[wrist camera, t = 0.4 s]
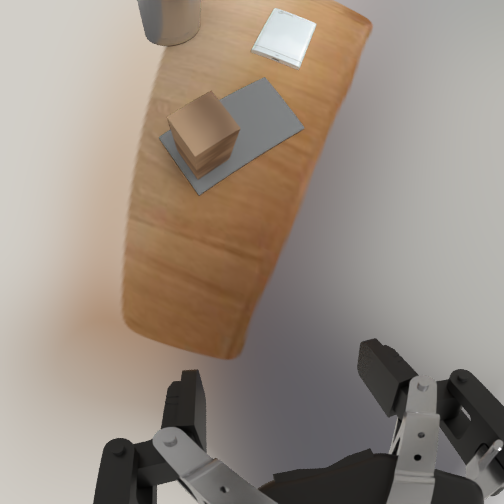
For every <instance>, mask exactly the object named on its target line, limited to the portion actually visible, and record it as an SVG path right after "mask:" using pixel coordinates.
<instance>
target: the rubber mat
mask: <svg viewBox="0 0 504 504" xmlns="http://www.w3.org/2000/svg"><path fill="white" fill-rule="evenodd" d="M219 101H220V102H221V103H222V105H223V106H224V107H225V109H226V110H227V111H228V112H229V114H230V115H231V116H232V118H233V119H234V120H235V122H236V123H237V124H238V126H239V127H240V128H241V129H240V131H239V134H238V137H237V139H236V142H235V145H234V147H233V150H232V153H231V156H230V158H229V160H227V161H226V162H224V163H223V164H221V165H220V166H218V167H217V168H215V169H214V170H212V171H211V172H209V173H208V174H206V175H205V176H203V177H202V178H200V179H199V180H198V179H197V178H196V177H195V175H194V174H193V172H192V171H191V170H190V168H189V167H188V165H187V164H186V162H185V161H184V160H183V158H182V157H181V155H180V154H179V152H178V151H177V148H176V145H175V142H174V139H173V135H172V132H171V129H170V130H169V131H167V132H166V133H164V134H163V135H161V136H160V137H159V139H160V140H161V142H162V143H163V145H164V146H165V148H166V149H167V150H168V152H169V153H170V155H171V156H172V158H173V159H174V161H175V162H176V163H177V165H178V166H179V168H180V169H181V171H182V172H183V173H184V175H185V176H186V178H187V179H188V181H189V182H190V183H191V185H192V186H193V188H194V189H195V191H196V192H197V193H198V195H199V196H200V195H201V194H202V193H204V192H205V191H207V190H208V189H210V188H211V187H213V186H214V185H215V184H217V183H218V182H220V181H221V180H223V179H224V178H226V177H227V176H229V175H230V174H232V173H233V172H235V171H236V170H238V169H239V168H241V167H243V166H244V165H246V164H247V163H249V162H250V161H252V160H253V159H255V158H257V157H258V156H260V155H261V154H263V153H265V152H266V151H268V150H269V149H271V148H273V147H274V146H276V145H278V144H279V143H281V142H283V141H284V140H286V139H288V138H289V137H291V136H293V135H294V134H296V133H298V132H300V131H301V130H303V129H304V126H303V125H302V124H301V122H300V121H299V120H298V118H297V117H296V116H295V114H294V113H293V112H292V110H291V109H290V108H289V106H288V105H287V104H286V103H285V101H284V100H283V99H282V97H281V96H280V95H279V94H278V92H277V91H276V90H275V89H274V87H273V86H272V85H271V84H270V83H269V81H268V80H267V79H266V78H265V77H264V78H262V79H260V80H258V81H256V82H253V83H251V84H249V85H247V86H245V87H243V88H241V89H239V90H237V91H236V92H234V93H232V94H230V95H228V96H226V97H224V98H222V99H221V100H219Z"/></svg>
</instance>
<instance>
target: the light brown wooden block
mask: <svg viewBox="0 0 504 504" xmlns="http://www.w3.org/2000/svg"><path fill="white" fill-rule="evenodd" d="M167 119H168V123H169V126H170V129H171V132H172V135H173V139H174V142H175V145H176V148H177V151H178V152H179V154H180V155H181V157H182V158H183V160H184V161H185V162H186V164H187V165H188V167H189V168H190V170H191V171H192V172H193V174H194V175H195V177H196V178H197V179H198V180H199V179H200V178H202V177H203V176H205V175H206V174H208V173H209V172H211V171H212V170H214V169H215V168H217V167H218V166H220V165H221V164H223V163H224V162H226V161H227V160H229V158H230V156H231V153H232V150H233V147H234V145H235V142H236V139H237V137H238V134H239V131H240V129H241V128H240V127H239V126H238V124H237V123H236V122H235V120H234V119H233V118H232V116H231V115H230V114H229V112H228V111H227V110H226V109H225V107H224V106H223V105H222V103H221V102H220V101H219V100H218V98H217V97H216V96H215V95H214V93H213V92H212V91H210V92H208V93H206V94H204V95H202V96H201V97H199V98H197V99H195V100H194V101H192V102H190V103H189V104H187V105H185V106H183V107H182V108H180V109H179V110H177V111H175V112H174V113H172V114H170V115H169V116H167Z"/></svg>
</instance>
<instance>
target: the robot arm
mask: <svg viewBox="0 0 504 504" xmlns="http://www.w3.org/2000/svg"><path fill="white" fill-rule="evenodd" d="M137 1H138V5H139V10H140V14H141V18H142V23H143V27H144V31H145V35H146V37H147V39H148V40H149V41H150V42H152V43H154V44H157V45H162V46H172V45H177V44H181V43H183V42H186V41H188V40H189V39H191V38H192V37H193V36H195V35H196V33H197V32H198V30H199V28H200V12H201V0H137ZM357 368H358V373H359V376H360V377H361V379H362V380H363V382H364V383H365V384H366V386H367V387H368V389H369V390H370V392H371V393H372V395H373V396H374V397H375V399H376V400H377V402H378V403H379V405H380V406H381V408H382V409H383V411H384V412H385V414H386V415H387V416H388V417H390V416H393V415H397V416H398V419H397V422H396V426H395V431H394V435H393V439H392V443H391V447H390V451H389V453H388V454H386V453H378V454H373V453H372V451H371V449H367V450H364V451H362V452H359V453H355V454H352V455H349V456H347V457H345V458H344V459H342V460H340V461H338V462H337V463H335V464H333V465H331V466H329V467H327V468H319V469H297V470H293V471H288V472H282V473H277V474H273V478H274V480H273V481H270V482H268V483H266V484H264V485H262V486H261V487H259V488H258V489H256V488H255V487H254V486H252V485H251V484H250V483H248V482H247V481H246V480H244V479H243V478H242V477H240V476H239V475H238V474H236V473H235V472H234V471H232V470H231V469H230V468H229V467H228V466H227V465H225V464H224V463H223V462H222V461H220V460H218V459H217V458H215V459H213V458H211V457H210V456H209V455H208V454H207V453H206V399H205V393H204V389H203V385H202V381H201V377H200V374H199V370H186V371H185V370H184V371H182V376H181V381H174V382H172V384H171V385H170V386H169V388H168V390H167V395H166V401H165V407H164V413H163V420H162V426H161V430H159V431H158V432H157V433H156V434H155V435H154V437H153V439H151V440H149V441H146V442H141V443H137V444H132V443H131V442H130V441H129V440H127V439H124V438H117V439H113V440H111V441H109V442H108V443H107V444H106V445H105V447H104V449H103V454H102V458H101V463H100V468H99V473H98V478H97V484H96V489H95V495H94V503H93V504H157V485H159V484H163V483H167V482H171V481H175V480H176V481H177V482H178V483H179V484H180V485H181V486H182V487H183V488H184V489H185V490H186V491H187V492H188V493H189V494H190V495H191V496H192V497H193V498H194V499H195V500H196V501H197V502H198V503H199V504H484V500H485V499H487V498H488V497H489V496H495V495H497V494H499V493H500V492H501V491H502V490H503V489H504V406H503V405H502V404H501V403H500V402H499V401H498V400H497V399H496V398H495V397H494V396H493V395H492V394H491V393H490V391H488V389H486V387H485V386H484V385H483V384H482V383H481V382H480V381H479V380H478V379H477V378H476V377H475V376H474V375H473V374H472V373H470V372H469V371H467V370H463V369H458V370H455V371H453V372H452V373H451V375H450V378H449V379H448V380H443V381H435V380H434V379H433V378H431V377H429V376H426V375H418V374H417V373H416V372H415V371H414V370H413V369H412V368H411V367H410V365H409V364H408V363H407V362H406V361H404V359H403V358H402V357H401V356H399V354H398V353H397V352H396V351H395V350H394V349H393V348H391V347H389V346H387V345H384V346H383V345H382V344H381V343H380V342H379V341H378V340H377V339H375V338H374V339H370V340H366V341H363V342H361V344H360V350H359V357H358V365H357ZM462 407H464V409H465V410H466V411H467V412H468V414H469V415H470V417H471V421H470V420H469V418H468V417H467V416H466V415H465V414H464V412H463V411H462V410H461V409H462ZM439 427H440V428H441V429H442V431H443V432H444V433H445V435H446V436H447V438H448V439H449V441H450V442H451V444H452V445H453V446H454V448H455V450H456V451H457V452H458V454H459V455H460V456H461V458H462V460H463V461H464V463H465V464H466V471H465V472H466V477H462V476H458V475H454V474H451V473H447V472H443V471H440V470H437V469H435V462H436V455H437V446H438V436H439Z"/></svg>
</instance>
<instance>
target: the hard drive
mask: <svg viewBox="0 0 504 504" xmlns="http://www.w3.org/2000/svg"><path fill="white" fill-rule="evenodd" d="M315 27H316V24H315V23H313V22H311V21H309V20H306V19H304V18H301V17H299V16H296V15H294V14H291V13H288V12H286V11H283V10H280V9H277V8H274V10H273V11H272V13H271V15H270V16H269V18H268V20H267V22H266V24H265V25H264V27H263V29H262V31H261V33H260V35H259V36H258V38H257V40H256V42H255V44H254V46H253V48H252V50H251V53H254V54H257V55H260V56H263V57H266V58H269V59H271V60H274V61H276V62H279V63H282V64H284V65H287V66H289V67H292V68H294V69H296V70H299V68H300V66H301V63H302V61H303V58H304V56H305V53H306V50H307V48H308V45H309V43H310V40H311V38H312V35H313V32H314V30H315Z"/></svg>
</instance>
